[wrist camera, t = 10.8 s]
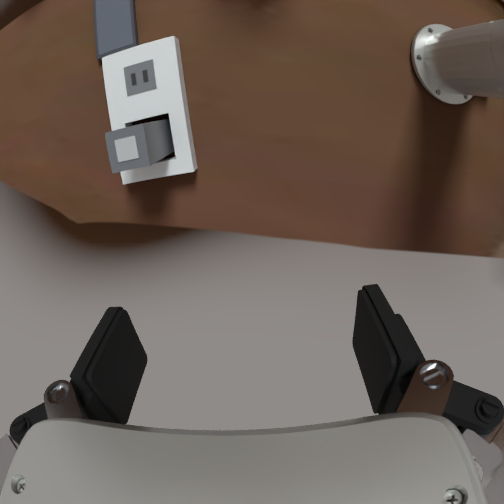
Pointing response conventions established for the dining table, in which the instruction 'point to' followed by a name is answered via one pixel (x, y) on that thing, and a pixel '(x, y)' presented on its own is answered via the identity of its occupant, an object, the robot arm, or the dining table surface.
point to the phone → (114, 26)
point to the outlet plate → (151, 101)
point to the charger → (139, 145)
